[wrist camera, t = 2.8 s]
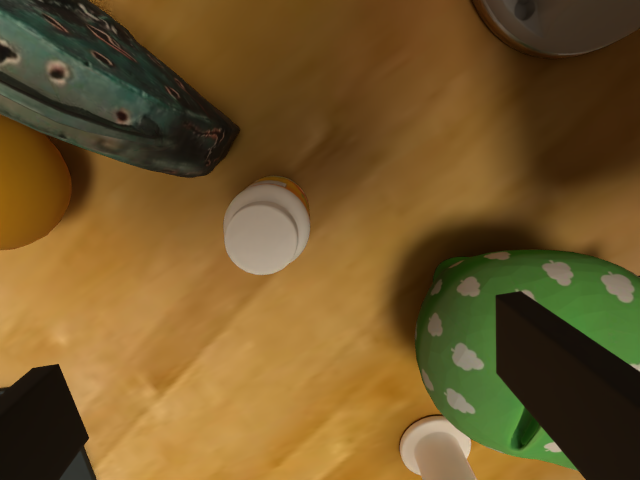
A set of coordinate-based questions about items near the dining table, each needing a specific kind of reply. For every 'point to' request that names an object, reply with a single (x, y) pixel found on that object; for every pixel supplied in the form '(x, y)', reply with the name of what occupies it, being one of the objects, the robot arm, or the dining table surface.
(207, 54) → the dining table surface
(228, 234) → the supplement bottle
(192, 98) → the ceramic cat
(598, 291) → the piggy bank
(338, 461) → the dining table surface
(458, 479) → the candle
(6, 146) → the apple
